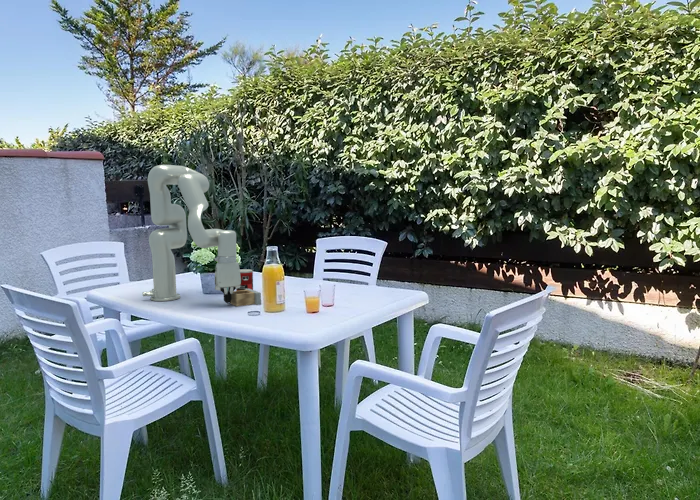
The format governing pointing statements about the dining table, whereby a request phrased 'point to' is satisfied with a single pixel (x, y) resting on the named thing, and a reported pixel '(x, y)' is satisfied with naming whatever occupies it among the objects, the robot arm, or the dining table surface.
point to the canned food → (246, 279)
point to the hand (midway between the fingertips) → (227, 302)
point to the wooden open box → (243, 298)
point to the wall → (256, 296)
